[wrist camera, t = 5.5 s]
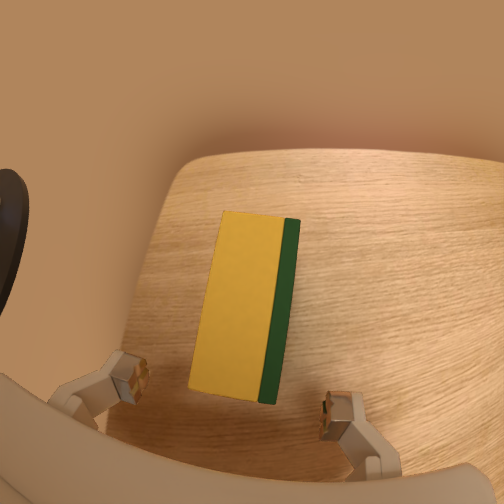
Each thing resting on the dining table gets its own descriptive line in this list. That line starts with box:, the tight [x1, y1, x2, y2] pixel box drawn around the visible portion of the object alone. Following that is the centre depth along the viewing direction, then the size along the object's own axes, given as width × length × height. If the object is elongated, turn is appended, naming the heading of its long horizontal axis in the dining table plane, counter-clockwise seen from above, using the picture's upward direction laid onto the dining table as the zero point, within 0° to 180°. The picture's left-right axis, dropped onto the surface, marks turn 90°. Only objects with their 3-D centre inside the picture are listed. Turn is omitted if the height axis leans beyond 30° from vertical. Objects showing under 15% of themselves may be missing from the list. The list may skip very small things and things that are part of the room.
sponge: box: [188, 211, 301, 405], centre depth 16 cm, size 4×9×8 cm, turn 171°
